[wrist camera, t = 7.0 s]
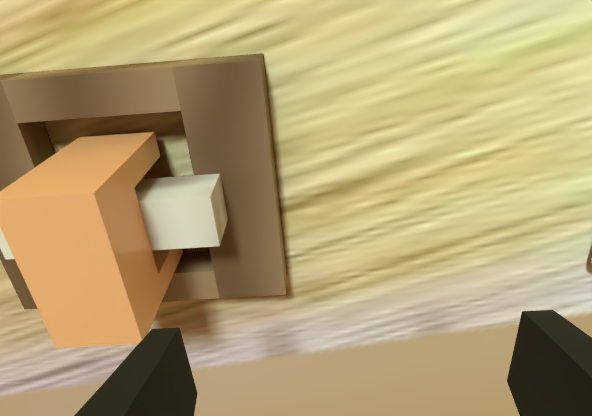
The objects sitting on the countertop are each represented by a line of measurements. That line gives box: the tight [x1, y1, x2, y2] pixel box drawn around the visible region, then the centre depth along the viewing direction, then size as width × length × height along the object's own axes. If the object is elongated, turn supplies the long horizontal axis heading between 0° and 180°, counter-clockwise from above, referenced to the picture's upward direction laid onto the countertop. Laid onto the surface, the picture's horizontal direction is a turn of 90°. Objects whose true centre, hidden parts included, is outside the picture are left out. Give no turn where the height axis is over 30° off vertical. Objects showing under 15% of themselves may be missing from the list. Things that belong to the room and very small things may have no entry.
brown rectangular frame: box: [0, 54, 287, 309], centre depth 17 cm, size 12×10×4 cm
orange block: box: [0, 132, 183, 348], centre depth 15 cm, size 3×6×6 cm, turn 4°
